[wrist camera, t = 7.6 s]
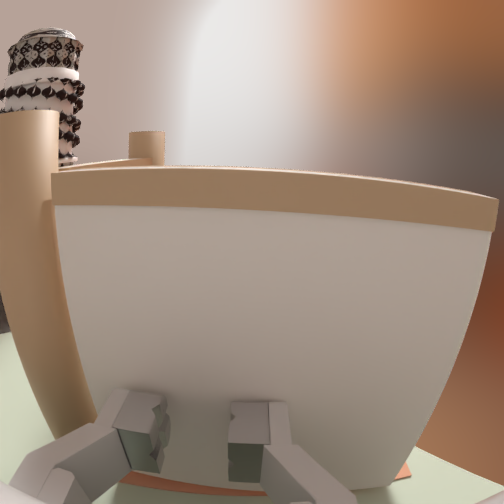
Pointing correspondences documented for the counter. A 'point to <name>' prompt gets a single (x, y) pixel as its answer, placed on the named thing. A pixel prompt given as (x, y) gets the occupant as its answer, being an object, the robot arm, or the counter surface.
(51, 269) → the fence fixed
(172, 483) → the mat
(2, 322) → the counter surface
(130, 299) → the swing panel
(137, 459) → the robot arm
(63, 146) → the decorative candle
